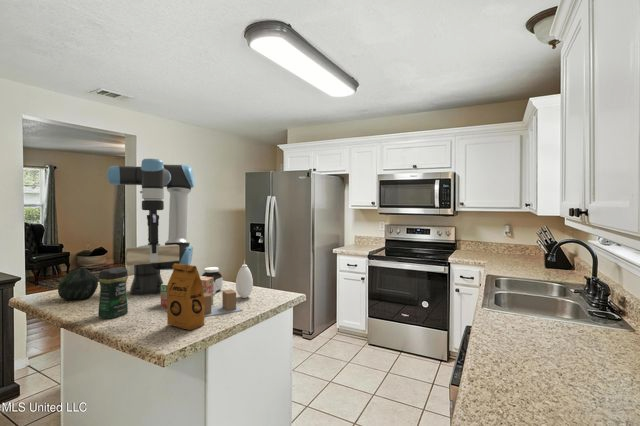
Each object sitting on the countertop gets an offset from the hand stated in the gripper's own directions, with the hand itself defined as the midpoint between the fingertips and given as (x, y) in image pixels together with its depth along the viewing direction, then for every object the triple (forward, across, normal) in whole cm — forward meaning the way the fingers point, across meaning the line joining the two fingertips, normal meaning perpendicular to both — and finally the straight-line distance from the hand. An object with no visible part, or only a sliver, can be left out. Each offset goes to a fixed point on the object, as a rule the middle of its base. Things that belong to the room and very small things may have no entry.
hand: (153, 260), depth 127 cm
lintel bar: (+1, 0, 0) cm, 1 cm away
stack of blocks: (+22, -9, +14) cm, 28 cm away
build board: (+22, +5, +23) cm, 32 cm away
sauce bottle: (+22, -8, +39) cm, 46 cm away
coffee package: (+22, +16, +9) cm, 29 cm away
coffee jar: (+22, -10, -13) cm, 27 cm away
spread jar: (+22, -26, +28) cm, 44 cm away
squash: (+22, -46, -27) cm, 58 cm away
